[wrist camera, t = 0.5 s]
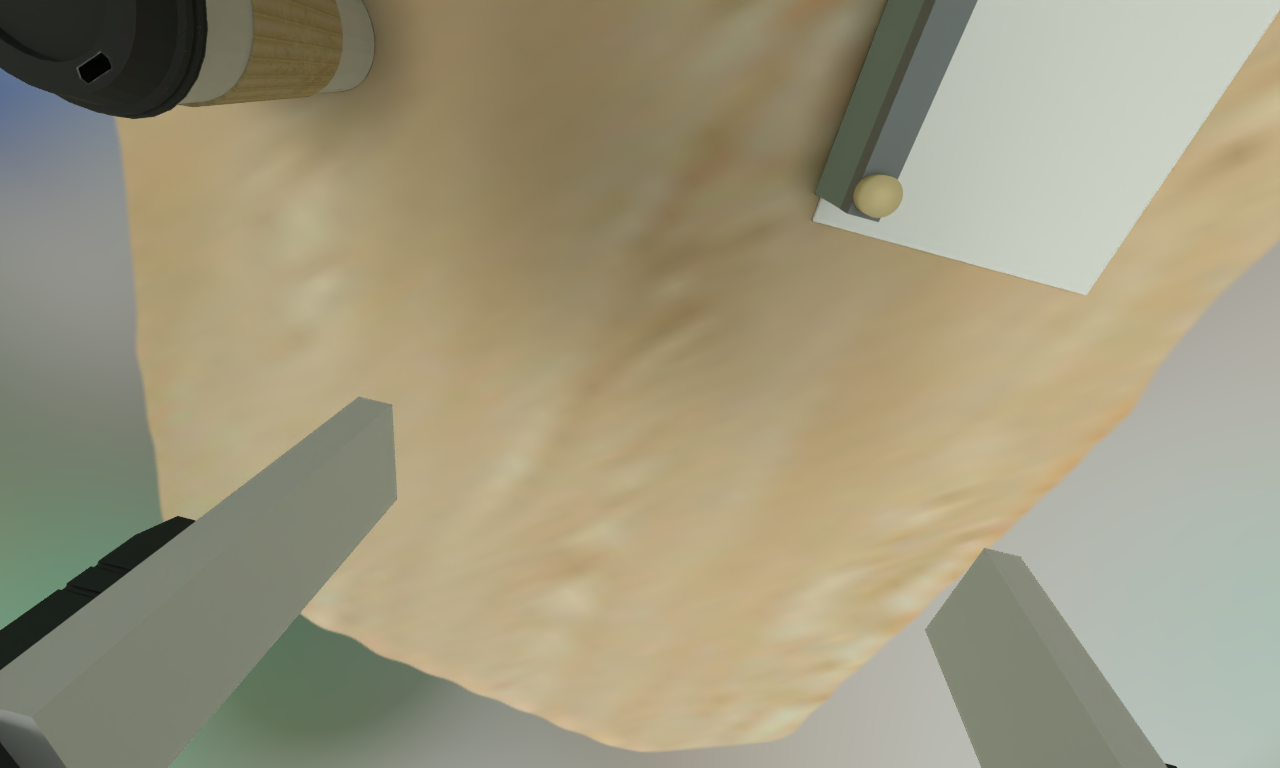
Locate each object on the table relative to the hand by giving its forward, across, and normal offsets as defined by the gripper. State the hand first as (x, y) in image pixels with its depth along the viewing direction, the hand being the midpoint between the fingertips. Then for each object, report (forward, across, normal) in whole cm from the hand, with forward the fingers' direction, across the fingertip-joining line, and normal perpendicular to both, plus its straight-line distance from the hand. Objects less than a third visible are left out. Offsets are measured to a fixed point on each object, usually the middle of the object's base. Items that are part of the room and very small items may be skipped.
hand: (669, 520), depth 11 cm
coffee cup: (+25, -25, +8) cm, 36 cm away
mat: (+25, +15, +12) cm, 31 cm away
